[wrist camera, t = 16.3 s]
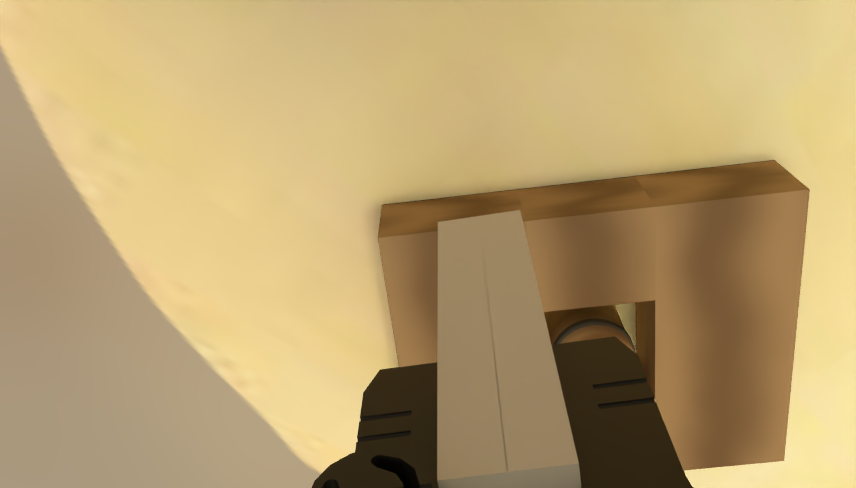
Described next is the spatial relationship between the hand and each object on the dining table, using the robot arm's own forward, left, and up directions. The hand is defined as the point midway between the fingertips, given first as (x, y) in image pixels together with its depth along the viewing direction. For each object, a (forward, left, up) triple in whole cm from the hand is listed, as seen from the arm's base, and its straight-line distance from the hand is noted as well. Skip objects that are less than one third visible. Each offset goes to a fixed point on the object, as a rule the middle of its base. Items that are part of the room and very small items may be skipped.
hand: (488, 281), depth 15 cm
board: (-6, +16, -25) cm, 30 cm away
